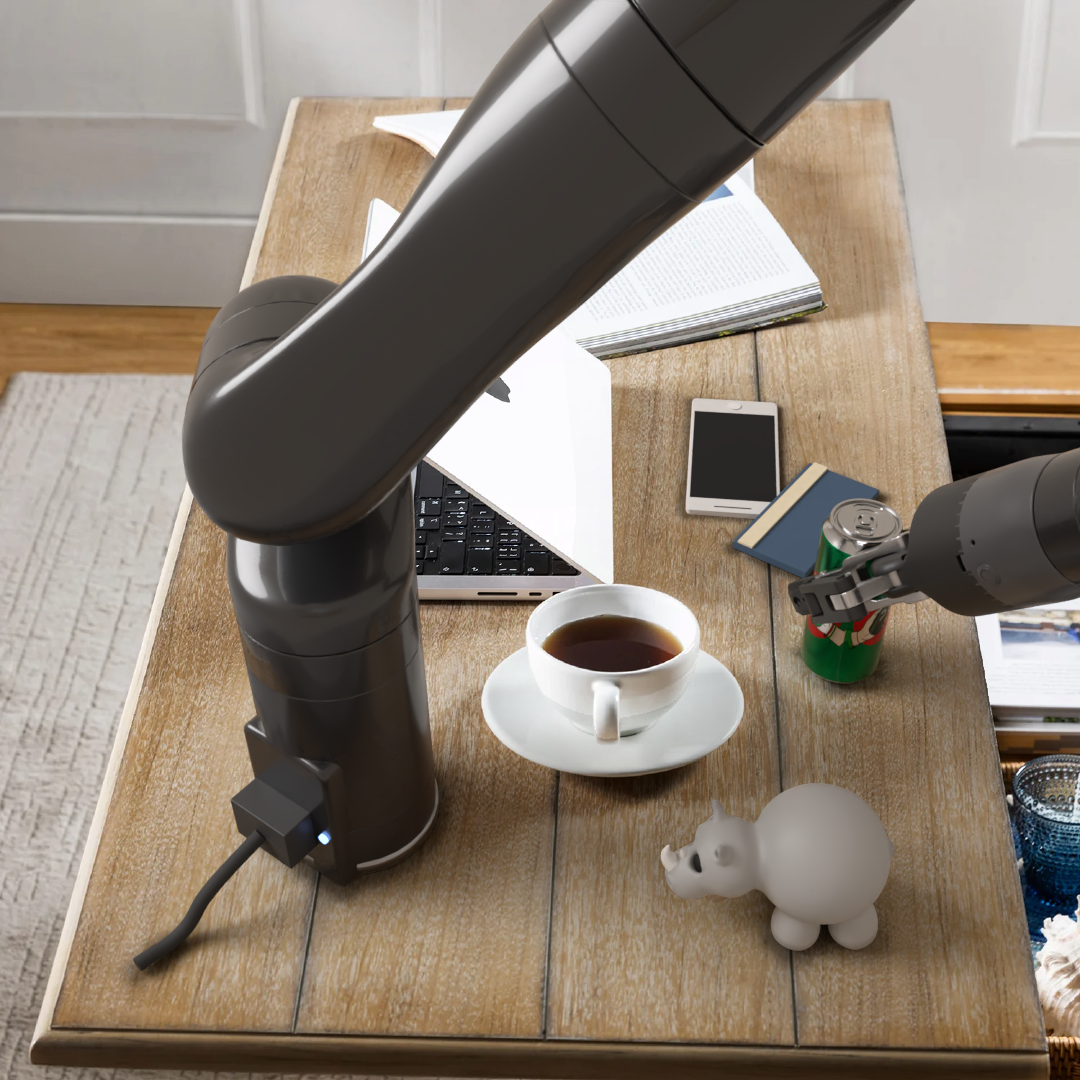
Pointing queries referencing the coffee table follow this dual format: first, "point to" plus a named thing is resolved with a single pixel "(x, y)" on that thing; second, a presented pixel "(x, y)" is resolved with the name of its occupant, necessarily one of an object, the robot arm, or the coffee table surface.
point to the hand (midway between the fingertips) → (830, 582)
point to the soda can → (858, 644)
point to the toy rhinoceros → (794, 863)
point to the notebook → (799, 519)
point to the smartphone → (732, 458)
